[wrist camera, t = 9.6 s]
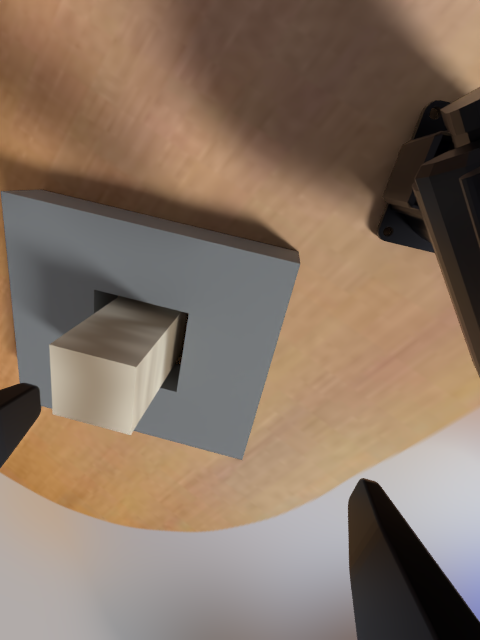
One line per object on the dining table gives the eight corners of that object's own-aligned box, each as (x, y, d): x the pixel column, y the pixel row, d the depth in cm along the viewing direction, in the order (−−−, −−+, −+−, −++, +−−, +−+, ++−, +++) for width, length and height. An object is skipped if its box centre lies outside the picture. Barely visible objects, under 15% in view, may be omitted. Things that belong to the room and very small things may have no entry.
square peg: (188, 303, 21) (136, 367, 14) (180, 354, 23) (130, 435, 16) (130, 288, 21) (49, 344, 14) (127, 340, 23) (52, 414, 16)
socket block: (298, 251, 19) (300, 263, 16) (247, 429, 25) (242, 459, 22) (40, 189, 20) (0, 191, 17) (50, 376, 25) (21, 400, 23)
